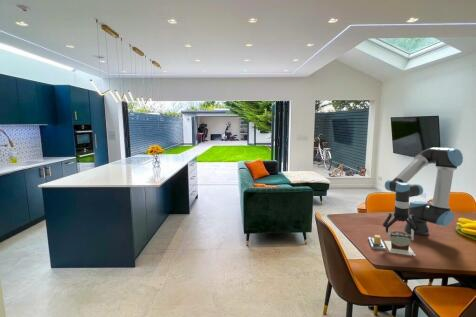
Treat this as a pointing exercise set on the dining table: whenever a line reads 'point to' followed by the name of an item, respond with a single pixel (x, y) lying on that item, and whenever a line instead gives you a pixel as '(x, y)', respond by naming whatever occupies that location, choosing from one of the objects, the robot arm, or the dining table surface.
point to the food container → (400, 240)
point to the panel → (375, 246)
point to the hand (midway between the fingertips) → (399, 238)
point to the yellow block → (377, 239)
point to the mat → (405, 252)
